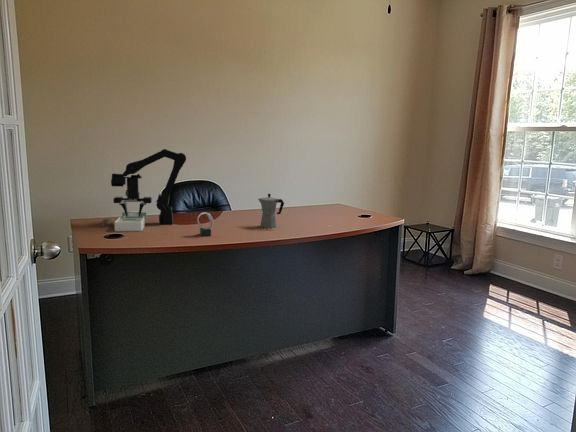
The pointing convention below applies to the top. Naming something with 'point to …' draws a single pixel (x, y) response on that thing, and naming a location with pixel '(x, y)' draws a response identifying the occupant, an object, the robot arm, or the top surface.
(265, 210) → the coffeepot
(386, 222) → the top surface
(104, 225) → the stand
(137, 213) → the dome
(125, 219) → the drawer
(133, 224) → the shallow white bin
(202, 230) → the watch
